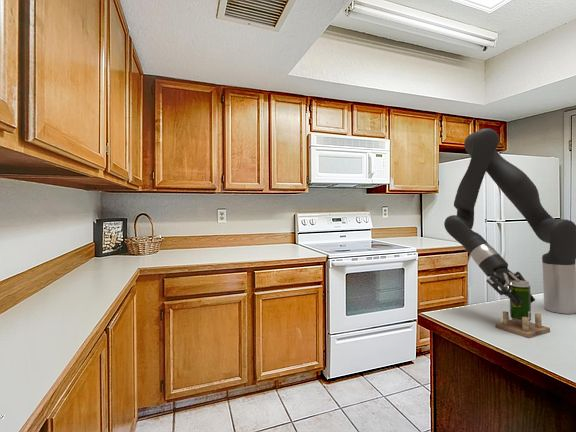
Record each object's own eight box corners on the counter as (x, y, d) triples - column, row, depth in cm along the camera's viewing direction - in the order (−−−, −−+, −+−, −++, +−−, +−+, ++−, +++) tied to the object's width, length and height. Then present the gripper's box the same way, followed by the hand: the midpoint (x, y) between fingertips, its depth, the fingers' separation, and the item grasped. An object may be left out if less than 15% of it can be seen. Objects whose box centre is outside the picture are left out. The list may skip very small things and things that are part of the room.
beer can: (532, 318, 100) (531, 281, 100) (530, 323, 96) (529, 284, 96) (511, 315, 104) (510, 279, 103) (508, 320, 100) (507, 282, 99)
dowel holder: (516, 321, 106) (515, 306, 106) (550, 331, 97) (549, 315, 97) (495, 327, 103) (495, 311, 102) (528, 338, 93) (528, 320, 93)
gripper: (480, 255, 104) (519, 300, 93) (510, 251, 109) (550, 293, 98) (466, 268, 109) (502, 313, 98) (495, 264, 114) (532, 305, 103)
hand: (526, 303), depth 98 cm, fingers closed on beer can, 5 cm apart
